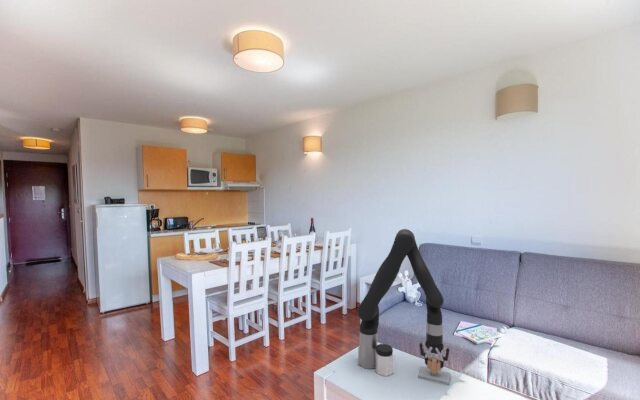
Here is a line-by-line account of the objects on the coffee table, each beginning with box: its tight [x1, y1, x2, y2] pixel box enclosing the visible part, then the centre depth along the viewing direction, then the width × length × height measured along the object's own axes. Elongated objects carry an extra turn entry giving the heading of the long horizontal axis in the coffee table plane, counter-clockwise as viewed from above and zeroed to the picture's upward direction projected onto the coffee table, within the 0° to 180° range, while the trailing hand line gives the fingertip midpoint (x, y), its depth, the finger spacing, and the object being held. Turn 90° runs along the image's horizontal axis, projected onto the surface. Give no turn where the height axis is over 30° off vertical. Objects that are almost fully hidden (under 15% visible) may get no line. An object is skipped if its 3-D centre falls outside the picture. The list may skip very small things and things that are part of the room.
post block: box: [417, 355, 451, 386], centre depth 152 cm, size 14×9×9 cm, turn 65°
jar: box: [375, 343, 394, 377], centre depth 156 cm, size 9×8×12 cm
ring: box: [426, 356, 442, 371], centre depth 152 cm, size 6×6×4 cm
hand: (434, 366), depth 152 cm, fingers closed on ring, 6 cm apart
